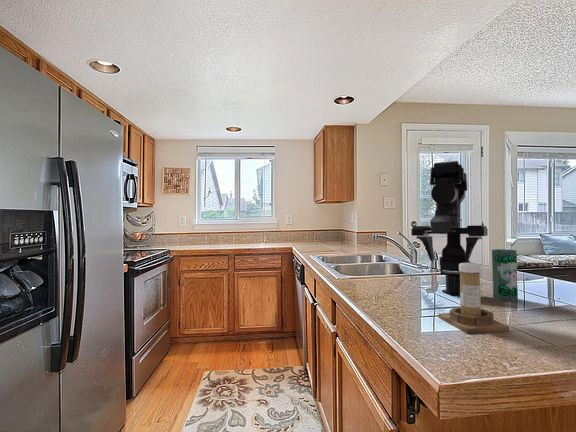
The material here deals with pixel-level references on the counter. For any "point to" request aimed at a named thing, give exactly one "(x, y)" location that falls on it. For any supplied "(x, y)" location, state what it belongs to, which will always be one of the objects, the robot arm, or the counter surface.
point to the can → (504, 275)
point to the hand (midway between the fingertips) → (448, 261)
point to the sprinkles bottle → (470, 289)
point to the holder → (473, 321)
